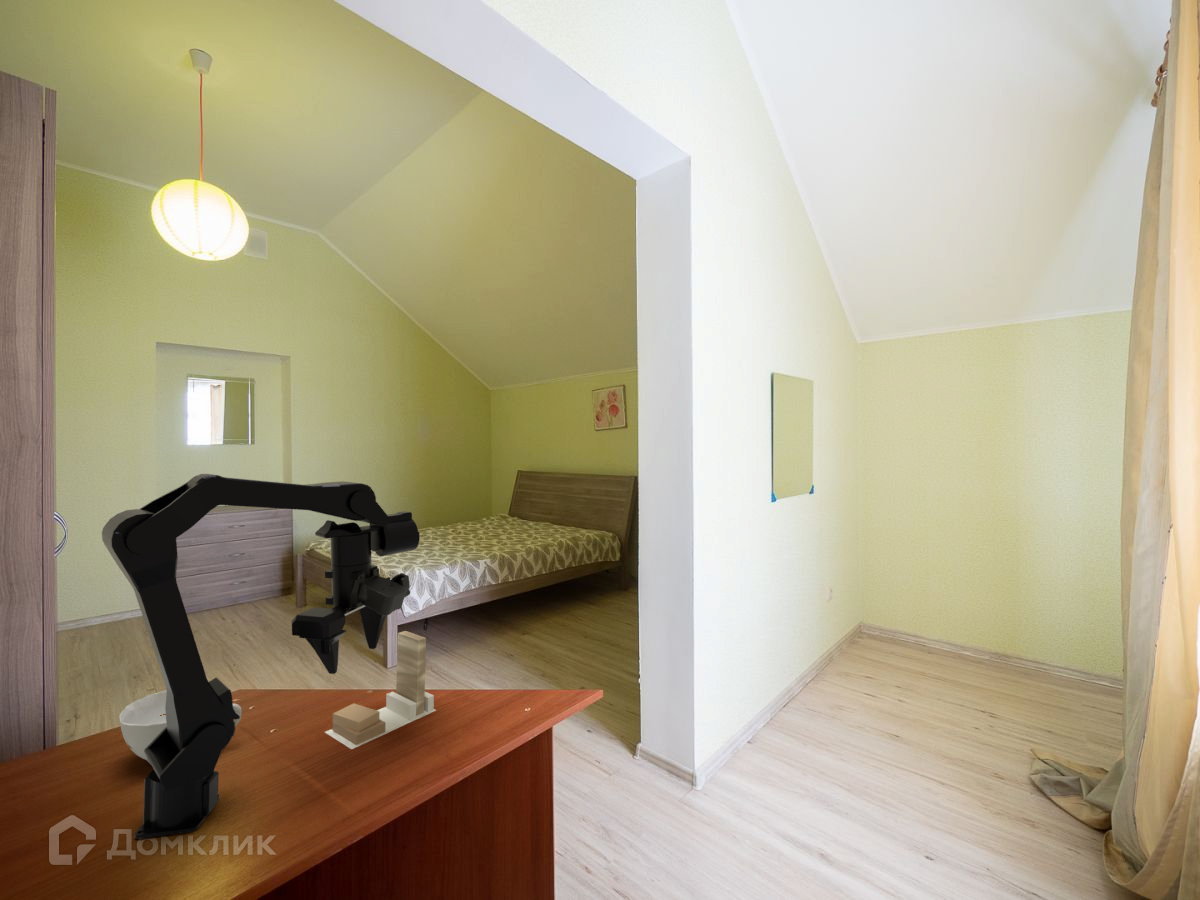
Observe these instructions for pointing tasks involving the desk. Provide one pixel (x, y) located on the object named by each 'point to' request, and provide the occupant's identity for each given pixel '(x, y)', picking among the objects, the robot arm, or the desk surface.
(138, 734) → the teacup
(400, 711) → the offcut rack
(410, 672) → the grey brown wooden board
